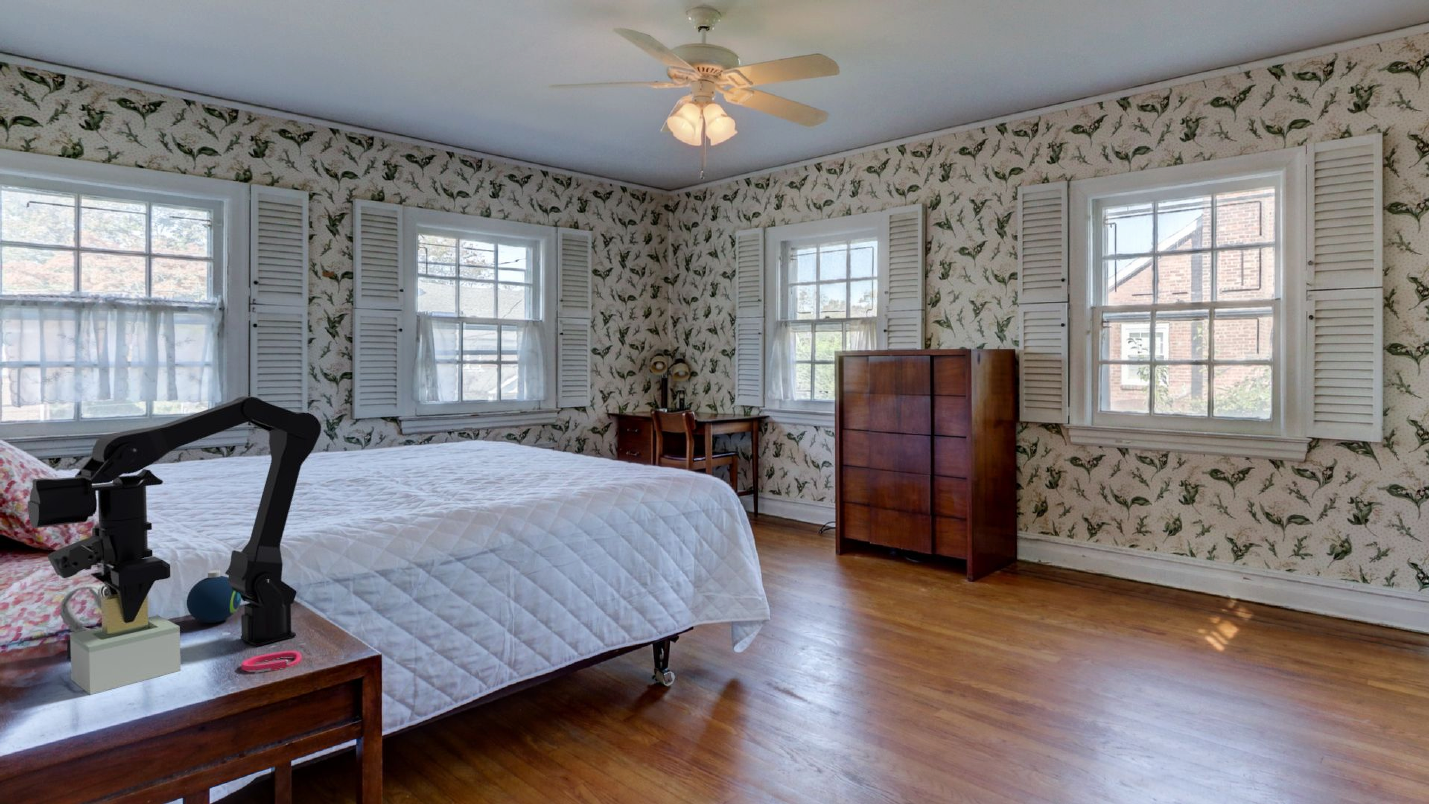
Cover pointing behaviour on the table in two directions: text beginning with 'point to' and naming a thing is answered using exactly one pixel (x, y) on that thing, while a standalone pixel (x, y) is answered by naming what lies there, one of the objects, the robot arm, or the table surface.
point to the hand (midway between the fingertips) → (125, 620)
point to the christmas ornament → (213, 599)
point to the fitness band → (271, 666)
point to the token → (120, 615)
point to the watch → (70, 616)
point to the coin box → (124, 655)
